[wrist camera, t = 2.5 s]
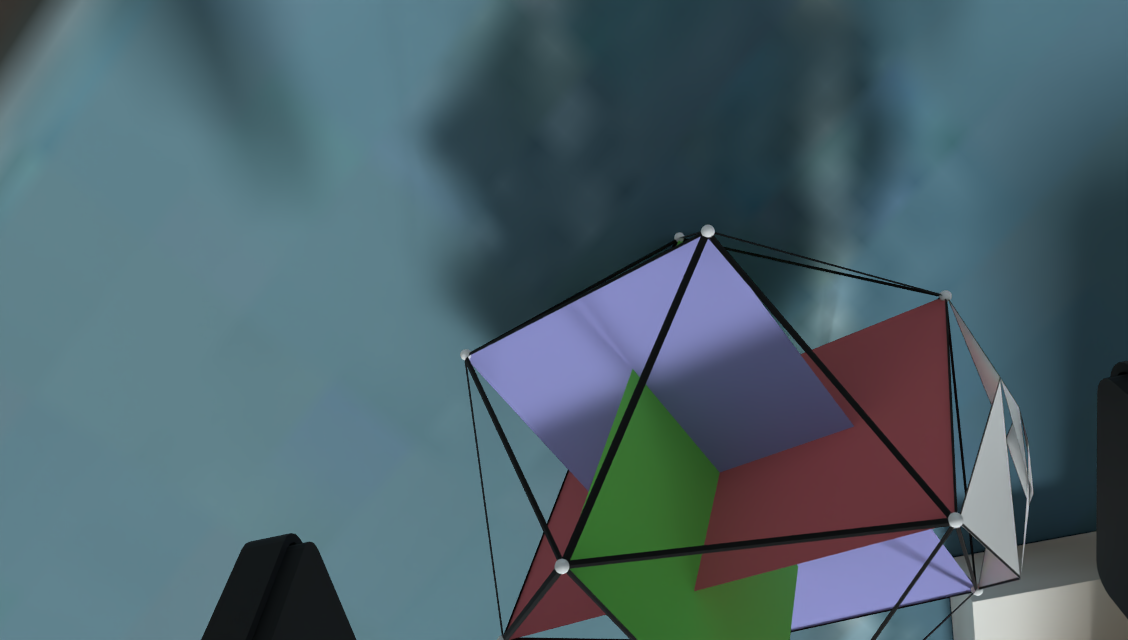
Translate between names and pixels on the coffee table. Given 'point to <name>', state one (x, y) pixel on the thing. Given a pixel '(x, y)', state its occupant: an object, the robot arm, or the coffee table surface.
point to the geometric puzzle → (745, 457)
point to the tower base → (1042, 597)
